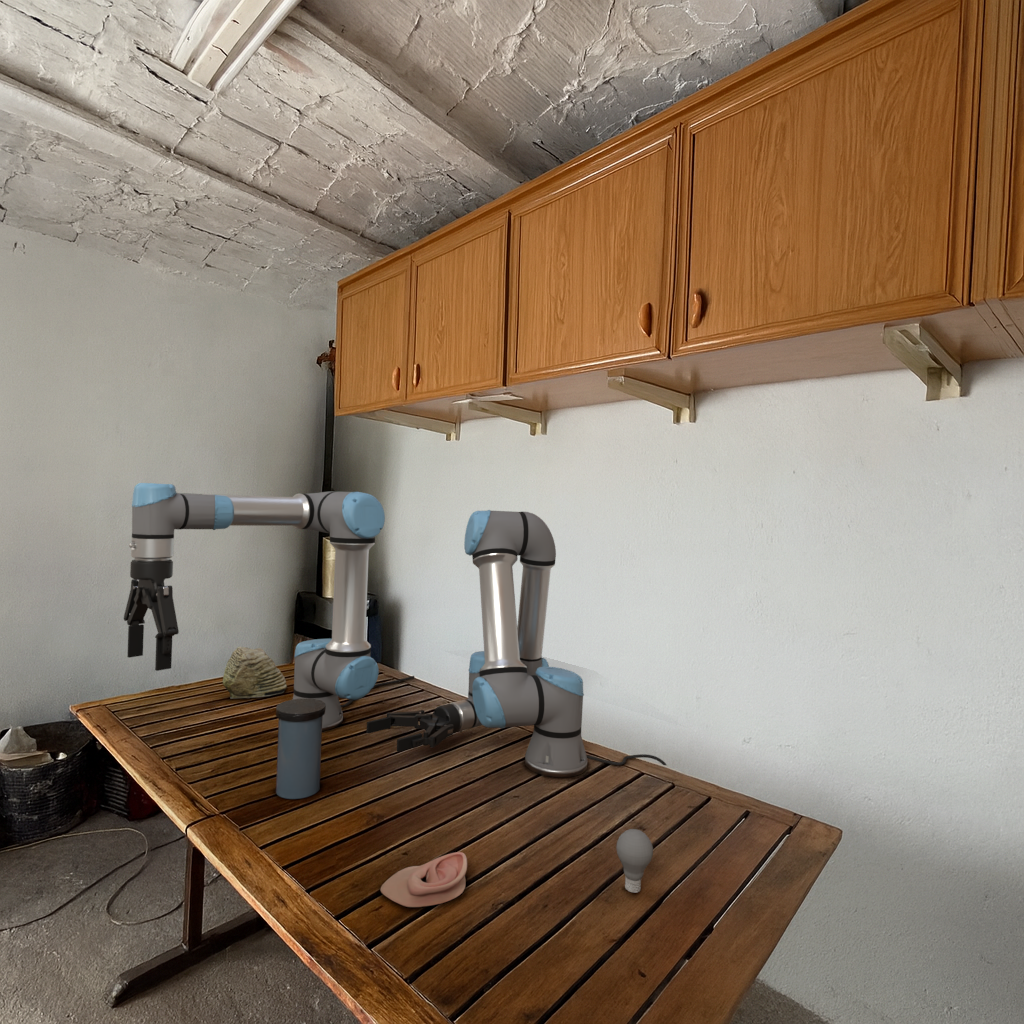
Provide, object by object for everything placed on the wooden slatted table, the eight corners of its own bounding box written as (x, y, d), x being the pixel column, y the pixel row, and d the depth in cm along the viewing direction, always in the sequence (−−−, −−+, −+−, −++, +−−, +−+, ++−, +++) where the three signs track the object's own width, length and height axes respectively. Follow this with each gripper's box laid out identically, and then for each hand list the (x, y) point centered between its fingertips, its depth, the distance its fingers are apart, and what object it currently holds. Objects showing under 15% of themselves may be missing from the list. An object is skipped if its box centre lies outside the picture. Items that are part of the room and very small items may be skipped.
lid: (292, 725, 129) (292, 717, 129) (266, 712, 136) (267, 705, 136) (334, 713, 137) (335, 706, 137) (308, 702, 144) (308, 695, 144)
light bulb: (610, 879, 108) (613, 822, 108) (644, 879, 109) (647, 822, 109) (619, 902, 102) (622, 840, 102) (655, 901, 103) (658, 840, 103)
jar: (290, 803, 130) (293, 718, 130) (267, 789, 136) (270, 707, 136) (328, 789, 137) (331, 708, 137) (305, 776, 143) (308, 698, 143)
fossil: (218, 695, 195) (220, 647, 195) (278, 685, 208) (279, 640, 207) (228, 703, 189) (230, 653, 188) (289, 692, 201) (290, 645, 201)
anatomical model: (373, 876, 100) (400, 838, 111) (372, 901, 100) (399, 861, 111) (454, 890, 97) (473, 850, 108) (452, 915, 97) (472, 873, 108)
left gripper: (108, 554, 134) (104, 654, 134) (159, 565, 118) (155, 678, 119) (146, 552, 140) (143, 648, 140) (199, 563, 124) (195, 671, 124)
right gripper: (483, 747, 156) (410, 770, 142) (424, 718, 175) (355, 735, 160) (484, 717, 156) (412, 737, 142) (425, 691, 174) (356, 706, 160)
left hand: (148, 662), depth 129 cm, fingers open, 13 cm apart
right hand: (381, 736), depth 151 cm, fingers open, 13 cm apart
